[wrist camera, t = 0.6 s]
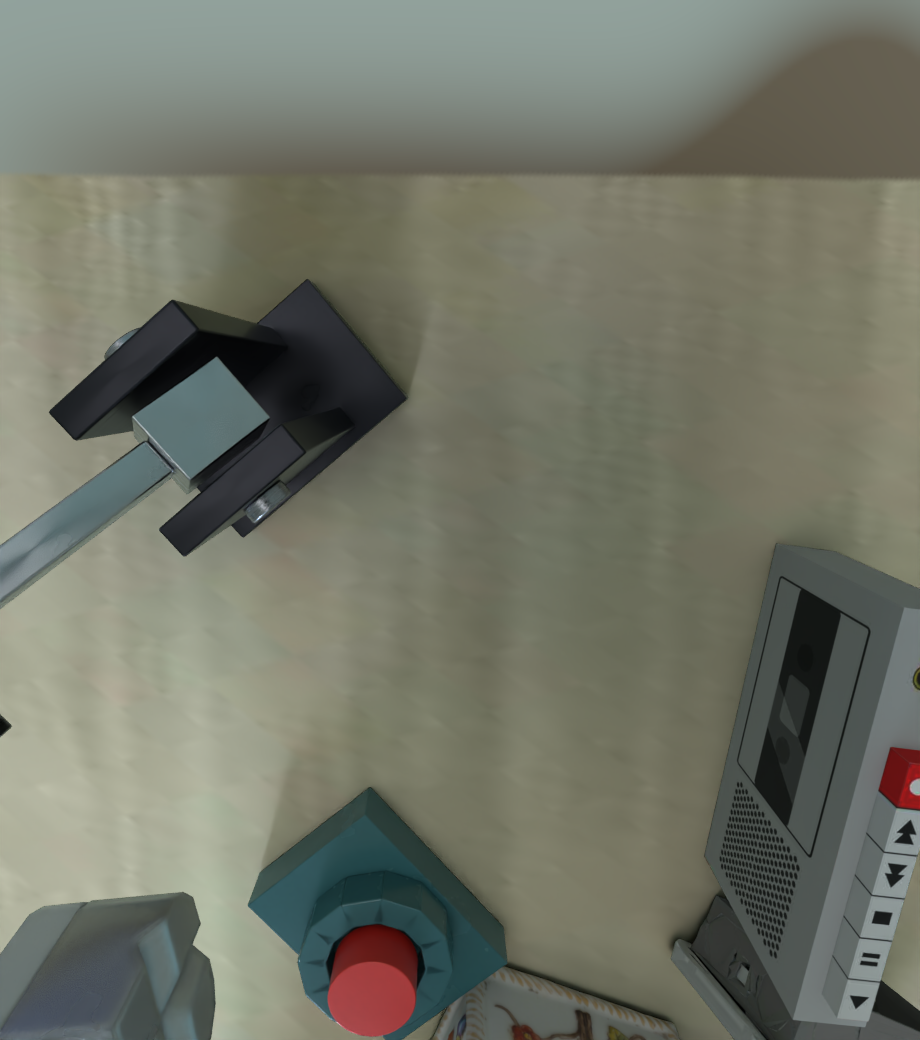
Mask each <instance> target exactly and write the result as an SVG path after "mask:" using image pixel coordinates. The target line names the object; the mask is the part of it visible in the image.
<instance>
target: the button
mask: <svg viewBox="0 0 920 1040" xmlns="http://www.w3.org/2000/svg"><path fill="white" fill-rule="evenodd" d="M417 968H418V957H417V952H416V949H415V947H414V945H413V943H412V942H411V940H410V939H409V938H408V937H407V936H406V935H405V934H404V933H402V932H401V931H399V930H397V929H395V928H392V927H389V926H385V925H375V924H374V925H367V926H363V927H360V928H357V929H355V930H353V931H352V932H350V933H349V934H348V935H346V936H345V937H344V939H343V940H342V941H341V942H340V944H339V946H338V948H337V950H336V953H335V959H334V964H333V969H332V975H331V980H330V985H329V991H328V1006H329V1009H330V1012H331V1014H332V1016H333V1017H334V1019H335V1020H336V1021H337V1022H338V1024H340V1025H341V1026H342V1027H343V1028H345V1029H346V1030H348V1031H350V1032H352V1033H355V1034H358V1035H362V1036H382V1035H386V1034H389V1033H392V1032H394V1031H396V1030H397V1029H399V1028H400V1027H402V1026H403V1025H404V1024H405V1023H406V1022H407V1021H408V1020H409V1018H410V1017H411V1015H412V1013H413V1011H414V1008H415V1004H416V990H417Z"/></svg>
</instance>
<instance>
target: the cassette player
mask: <svg viewBox="0 0 920 1040" xmlns="http://www.w3.org/2000/svg"><path fill="white" fill-rule="evenodd" d="M919 848H920V589H919V588H916V587H914V586H912V585H910V584H907V583H905V582H903V581H901V580H898V579H896V578H894V577H892V576H889V575H887V574H885V573H883V572H880V571H878V570H876V569H874V568H871V567H869V566H867V565H865V564H862V563H860V562H858V561H856V560H853V559H851V558H849V557H847V556H844V555H842V554H840V553H838V552H835V551H828V550H821V549H813V548H806V547H798V546H791V545H784V544H776V547H775V551H774V556H773V560H772V564H771V569H770V573H769V577H768V582H767V586H766V590H765V595H764V599H763V603H762V608H761V612H760V616H759V621H758V625H757V630H756V634H755V638H754V643H753V647H752V651H751V656H750V660H749V664H748V669H747V673H746V677H745V682H744V686H743V690H742V695H741V699H740V703H739V708H738V712H737V716H736V721H735V725H734V729H733V734H732V738H731V742H730V747H729V751H728V755H727V760H726V764H725V768H724V773H723V777H722V781H721V786H720V790H719V794H718V799H717V803H716V807H715V812H714V816H713V820H712V825H711V829H710V833H709V838H708V842H707V847H706V851H705V855H704V856H705V858H706V860H707V862H708V864H709V866H710V867H711V869H712V871H713V873H714V875H715V877H716V879H717V880H718V882H719V884H720V886H721V888H722V890H723V892H724V893H725V895H726V897H727V899H728V901H729V903H730V905H731V906H732V908H733V910H734V912H735V914H736V916H737V917H738V919H739V921H740V923H741V925H742V927H743V929H744V930H745V932H746V934H747V936H748V938H749V940H750V942H751V943H752V945H753V947H754V949H755V951H756V953H757V955H758V956H759V958H760V960H761V962H762V964H763V966H764V967H765V969H766V971H767V973H768V975H769V977H770V979H771V980H772V982H773V984H774V986H775V988H776V990H777V992H778V993H779V995H780V997H781V999H782V1001H783V1003H784V1004H785V1006H786V1008H787V1010H788V1012H789V1014H790V1016H791V1017H792V1019H793V1020H799V1021H809V1022H818V1023H828V1024H837V1025H847V1026H857V1027H865V1026H866V1023H867V1022H869V1018H870V1015H871V1011H872V1008H873V1005H874V1001H875V998H876V994H877V991H878V988H879V984H880V981H881V977H882V974H883V971H884V967H885V964H886V960H887V957H888V954H889V950H890V947H891V943H892V940H893V937H894V933H895V930H896V926H897V923H898V920H899V916H900V913H901V909H902V906H903V903H904V899H905V896H906V893H907V889H908V886H909V882H910V879H911V876H912V872H913V869H914V865H915V862H916V859H917V855H918V852H919Z"/></svg>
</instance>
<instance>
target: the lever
mask: <svg viewBox="0 0 920 1040" xmlns="http://www.w3.org/2000/svg"><path fill="white" fill-rule="evenodd" d="M131 419H132V425H133V431H134V437H135V439H136V440H137V441H138V442H139V443H140V444H139V445H137V446H136V447H135V448H133V449H132V450H131V451H129V452H128V453H126V454H125V455H124V456H122V457H121V458H120V459H118V460H117V461H115V462H114V463H113V464H111V465H110V466H109V467H107V468H106V469H104V470H103V471H102V472H100V473H99V474H98V475H96V476H95V477H93V478H92V479H91V480H89V481H88V482H87V483H85V484H84V485H82V486H81V487H80V488H78V489H77V490H76V491H74V492H73V493H72V494H70V495H69V496H67V497H66V498H65V499H63V500H62V501H61V502H59V503H58V504H56V505H55V506H54V507H52V508H51V509H50V510H48V511H47V512H45V513H44V514H43V515H41V516H40V517H39V518H37V519H36V520H34V521H33V522H32V523H30V524H29V525H28V526H26V527H25V528H23V529H22V530H21V531H19V532H18V533H17V534H15V535H14V536H12V537H11V538H10V539H8V540H7V541H6V542H4V543H3V544H1V545H0V609H1V608H2V607H4V606H5V605H6V604H8V603H9V602H10V601H12V600H13V599H14V598H15V597H17V596H18V595H19V594H21V593H22V592H23V591H25V590H26V589H27V588H29V587H30V586H31V585H32V584H34V583H35V582H36V581H38V580H39V579H40V578H42V577H43V576H44V575H46V574H47V573H48V572H49V571H51V570H52V569H53V568H55V567H56V566H57V565H59V564H60V563H61V562H63V561H64V560H65V559H66V558H68V557H69V556H70V555H72V554H73V553H74V552H76V551H77V550H78V549H80V548H81V547H82V546H83V545H85V544H86V543H87V542H89V541H90V540H91V539H93V538H94V537H95V536H97V535H98V534H99V533H100V532H102V531H103V530H104V529H106V528H107V527H108V526H110V525H111V524H112V523H114V522H115V521H116V520H118V519H119V518H120V517H121V516H123V515H124V514H125V513H127V512H128V511H129V510H131V509H132V508H133V507H135V506H136V505H137V504H138V503H140V502H141V501H142V500H144V499H145V498H146V497H148V496H149V495H150V494H152V493H153V492H154V491H155V490H157V489H158V488H159V487H161V486H162V485H163V484H165V483H166V482H167V481H169V480H170V479H171V478H172V479H173V480H174V481H175V482H176V484H177V485H178V486H179V487H180V488H181V489H182V490H183V491H184V492H185V493H186V494H189V493H190V492H191V491H193V490H194V489H195V488H197V487H198V486H199V485H200V484H202V483H203V482H204V481H206V480H207V479H208V478H209V477H211V476H212V475H213V474H214V473H216V472H217V471H218V470H220V469H221V468H222V467H223V466H225V465H226V464H227V463H229V462H230V461H231V460H232V459H234V458H235V457H236V456H237V455H239V454H240V453H241V452H243V451H244V450H245V449H246V448H248V447H249V446H250V445H252V444H253V443H254V442H255V441H257V440H258V439H259V438H260V436H261V435H262V433H263V431H264V429H265V427H266V425H267V424H268V422H269V420H270V416H269V415H268V414H267V413H266V412H265V410H264V409H263V408H262V407H261V406H260V405H259V404H258V402H257V401H256V400H255V399H254V398H253V397H252V396H251V394H250V393H249V392H248V391H247V390H246V389H245V388H244V386H243V385H242V384H241V383H240V382H239V381H238V380H237V378H236V377H235V376H234V375H233V374H232V373H231V372H230V370H229V369H228V368H227V367H226V366H225V365H224V364H223V362H222V361H221V360H220V359H219V358H218V357H217V356H216V357H214V358H212V359H211V360H209V361H208V362H207V363H205V364H204V365H202V366H201V367H199V368H198V369H197V370H195V371H194V372H192V373H191V374H190V375H188V376H187V377H185V378H184V379H182V380H181V381H180V382H178V383H177V384H175V385H174V386H173V387H171V388H170V389H168V390H167V391H166V392H164V393H163V394H161V395H160V396H158V397H157V398H156V399H154V400H153V401H151V402H150V403H149V404H147V405H146V406H144V407H143V408H142V409H140V410H139V411H137V412H136V413H134V414H133V415H132V416H131ZM11 727H12V726H11V724H10V723H9V722H8V721H7V720H6V719H5V718H4V717H2V716H1V715H0V737H1V736H2V735H3V734H4V733H6V732H7V731H8V730H9V729H10V728H11Z"/></svg>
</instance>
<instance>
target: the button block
mask: <svg viewBox="0 0 920 1040" xmlns="http://www.w3.org/2000/svg"><path fill="white" fill-rule="evenodd" d="M248 907H249V908H251V909H252V910H253V911H254V912H255V913H256V914H257V915H258V916H259V917H260V918H261V919H262V920H263V921H264V922H265V923H266V924H267V925H268V926H269V927H270V928H271V929H272V930H273V931H274V932H275V933H276V934H277V935H278V936H279V937H280V938H281V939H282V940H284V941H285V942H286V943H287V944H288V945H289V946H290V947H291V948H292V949H293V950H294V951H295V952H296V953H297V954H298V955H299V957H298V966H299V970H300V974H301V978H302V982H303V986H304V990H305V994H306V995H307V997H308V998H309V999H310V1000H311V1001H312V1002H313V1003H314V1004H315V1005H316V1006H317V1007H318V1008H319V1009H320V1010H322V1011H323V1012H324V1013H325V1014H326V1015H327V1016H328V1017H329V1018H330V1019H331V1020H333V1021H334V1022H337V1021H336V1020H335V1019H334V1017H333V1016H332V1014H331V1012H330V1009H329V1006H328V991H329V985H330V980H331V975H332V969H333V964H334V959H335V953H336V950H337V948H338V946H339V944H340V942H341V941H342V940H343V939H344V937H345V936H346V935H348V934H349V933H350V932H352V931H353V930H355V929H357V928H360V927H363V926H367V925H374V924H375V925H385V926H389V927H392V928H395V929H397V930H399V931H401V932H402V933H404V934H405V935H406V936H407V937H408V938H409V939H410V940H411V942H412V943H413V945H414V947H415V949H416V952H417V957H418V968H417V990H416V1004H415V1008H414V1011H413V1013H412V1015H411V1017H410V1018H409V1020H408V1021H407V1022H406V1023H405V1024H404V1025H403V1026H402V1027H400V1028H399V1029H397V1030H396V1031H394V1032H392V1033H389V1034H386V1035H382V1036H383V1037H384V1038H385V1039H386V1040H402V1039H403V1038H405V1037H406V1036H407V1035H409V1034H410V1033H412V1032H413V1031H414V1030H416V1029H417V1028H419V1027H420V1026H421V1025H423V1024H424V1023H426V1022H427V1021H428V1020H430V1019H431V1018H432V1017H434V1016H435V1015H437V1014H438V1013H439V1012H441V1011H442V1010H444V1009H445V1008H446V1007H448V1006H449V1005H450V1004H452V1003H453V1002H455V1001H456V1000H457V999H459V998H460V997H462V996H463V995H464V994H466V993H467V992H468V991H470V990H471V989H473V988H474V987H475V986H477V985H478V984H480V983H481V982H482V981H484V980H485V979H486V978H488V977H489V976H491V975H492V974H493V973H495V972H496V971H498V970H499V969H500V968H502V967H503V966H504V965H506V964H507V963H508V962H507V953H506V944H505V935H504V928H503V926H502V925H501V924H500V923H499V922H498V921H497V920H496V919H495V918H494V917H493V916H492V915H491V914H490V913H489V912H488V911H487V910H486V909H485V908H484V907H483V905H482V904H481V903H480V902H479V901H478V900H477V899H476V898H475V897H474V896H473V895H472V894H471V893H470V892H469V891H468V890H467V889H466V888H465V887H464V885H463V884H462V883H461V882H460V881H459V880H458V879H457V878H456V877H455V876H454V875H453V874H452V873H451V872H450V871H449V870H448V869H447V868H446V867H445V865H444V864H443V863H442V862H441V861H440V860H439V859H438V858H437V857H436V856H435V855H434V854H433V853H432V852H431V851H430V850H429V849H428V848H427V847H426V845H425V844H424V843H423V842H422V841H421V840H420V839H419V838H418V837H417V836H416V835H415V834H414V833H413V832H412V831H411V830H410V829H409V828H408V827H407V825H406V824H405V823H404V822H403V821H402V820H401V819H400V818H399V817H398V816H397V815H396V814H395V813H394V812H393V811H392V810H391V809H390V808H389V807H388V805H387V804H386V803H385V802H384V801H383V800H382V799H381V798H380V797H379V796H378V795H377V794H376V793H375V792H374V791H373V790H372V789H371V788H368V789H367V790H366V791H365V792H363V793H362V794H361V795H359V796H358V797H357V798H355V799H354V800H353V801H352V802H350V803H349V804H348V805H346V806H345V807H344V808H343V809H341V810H340V811H339V812H337V813H336V814H335V815H334V816H332V817H331V818H330V819H328V820H327V821H326V822H325V823H323V824H322V825H321V826H319V827H318V828H317V829H316V830H314V831H313V832H312V833H310V834H309V835H308V836H307V837H305V838H304V839H303V840H301V841H300V842H299V843H298V844H296V845H295V846H294V847H292V848H291V849H290V850H289V851H287V852H286V853H285V854H283V855H282V856H281V857H280V858H278V859H277V860H276V861H274V862H273V863H272V864H270V865H269V866H268V867H267V868H265V869H264V870H263V871H261V872H260V874H259V876H258V879H257V882H256V884H255V887H254V890H253V892H252V895H251V898H250V900H249V903H248ZM337 1023H338V1022H337Z"/></svg>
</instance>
